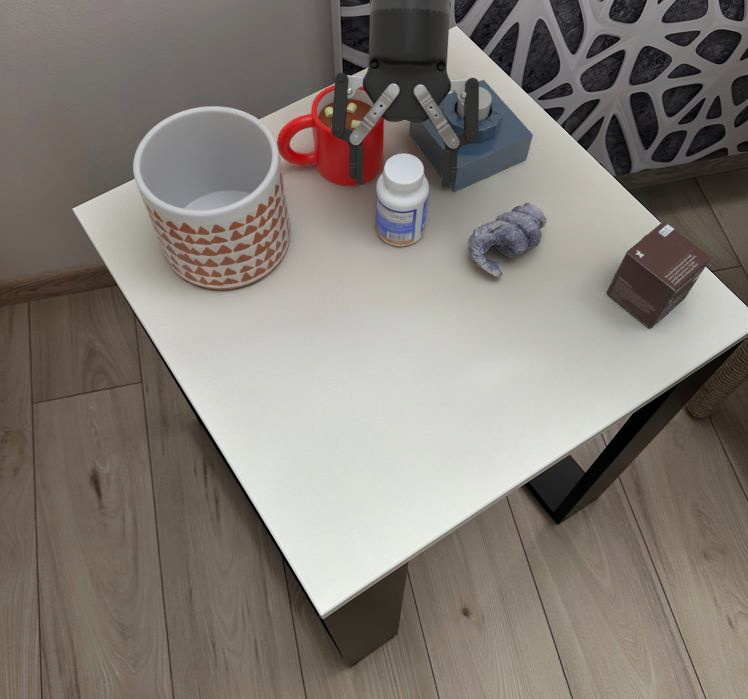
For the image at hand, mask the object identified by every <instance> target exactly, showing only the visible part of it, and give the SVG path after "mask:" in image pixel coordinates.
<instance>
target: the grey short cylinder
mask: <svg viewBox="0 0 748 699" xmlns="http://www.w3.org/2000/svg"><path fill="white" fill-rule="evenodd" d="M491 100H492V98H491V95H490V93H489V92H488V91H487V90H486V89H484V88H482V87H479V122H482V121H484V120H485V119H486V118H487V117H488V115H489V111H490V106H491ZM457 114H458V116H459V117H460V118H461V119H462V120H464V102H459V101H458V104H457Z"/></svg>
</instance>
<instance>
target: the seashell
mask: <svg viewBox="0 0 748 699" xmlns="http://www.w3.org/2000/svg"><path fill="white" fill-rule="evenodd" d="M547 221H548V218H547V216H546V215H545V214H544V211H543V209H541V208H539V207H537V206H536V205H533V204H531V203H530V202H526V203H524V204H523V205H517V206H515V207H514V208H512V209H511V210H510V211H506V212H503V213H502V214H500V215H497V216H496V218H495V219H494V221H490V222H487V223H485V224H483V225H481V226H478V227H477V228H475V229H473V230H472V231H473V232H472V233H471V234H470V236H469V238H468V254H469V258H470V260H472V261H473V262H474V263H475V264H476V265H477V267H478V268H481V269H482V270H484V271H485V272H487V273H488V274H490V275H491V276H493V277H495V278H496V279H498V278H500V277H501V276H503V273H502V271H501V268H500V265H499V264H500V263H499V262H500V261H492V260H491V259H489V258H488V256H487V255H488V250H489V249H490V247H492V246H494V247H495V248H496V249H497V251H498V252H500V253H501V254H502V255H504V256H505V257H508V258H512V259H515V258H517V257H520V256H521V255H522V254H523V253H524V252H525V250H533V249H535V248H536V247H538V245H539V244H540V243H541V241H542V231H541V230H542V229H543V228H545V227H546V224H547Z"/></svg>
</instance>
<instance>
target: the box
mask: <svg viewBox="0 0 748 699" xmlns="http://www.w3.org/2000/svg"><path fill="white" fill-rule="evenodd" d="M711 260H712V256H711V255H710V254H709V253H708V252H706V251H705V250H703V249H702V248H701V247H699V246H697V244H695V243H693V241H691V240H690V239H689V238H687V237H686V236H684V235H683V234H681V233H680V232H679V231H677V229H675V228H674V227H673V226H671V225H669V224H668V223H667V222H665V221H662V222H660V223H659V224H658V225H656V226H655V228H653V229H652V230H651V231H650V232H649V233H647V234H645V235H644V236H643V237H641V239H640V240H639V241H638V242H637V243H635V244H634V245H633V246H631V248H630V249H628V250H627V251H626V252H625V254H624V256H623V258H622V260H621V262H620V264H619V266H618V268H617V270H616V272H615V273H614V276H613V279H612V280H611V282H610V285H609V286H608V288H607V290H606V295H608V296H609V297H610V298H611V299H612V300H613V301H615V302H616V303H617V304H619V305H620V306H622V307H623V308H624V309H625V310H626V311H628V312H629V313H630V314H631V315H632V316H634V317H635V318H636V319H638V321H640V322H641V323H642V324H644V325H645V326H646V327H647V328H649V329H652V328H653V327H655V326H656V325H657V324H658V323H660V322H661V320H663V319H664V318H665V317H667V316H668V315H669V313H671V312H672V311H673V310H674V309H675V308H676V307H677V306H678V305H680V303H682V302H683V301H684V300H685V299H686V298H687V296H688V295H689V293H690V291H691V290H692V289H693V287H694V285H695V284H696V282H698V279H699V278H700V276H701V275H702V273H703V272H704V270H705V268H706V267H707V265H708V263H709V262H710V261H711Z"/></svg>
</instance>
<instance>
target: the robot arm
mask: <svg viewBox="0 0 748 699" xmlns="http://www.w3.org/2000/svg"><path fill="white" fill-rule="evenodd" d="M451 7H452V2H451V0H369V36H368V37H369V38H368V39H369V40H368V63H367V64H368V65H367V66H368V67H367V70H366V73H365V74H364V76H359V75H349V74H346V73H345V72H339V73H337V74H336V75H335V79H334V85H335V89H334V102H333V115H332V128H331V133H332V135H333V136H334V137H337V138H339V139H342V140H344V141H346V142H347V143H348V144H349V147H350V152H349V174H350V177H351V178H356V185H355V186H362V185H364V184H363V175H364V146H362V144H363V140H364V138H365V137H366V136H367V135H368V133H369V132H370V131H371V129H372V128H373V127H374V126H375V125H376V123H377V122H378V121H379V119H380V118H381V117H382V118H384V121H387V122H390V123H400V122H403V121H406V122H409V123H410V122H412V123H421V122H424V121H426V120H428V119H429V120H430V122H431V123H432V125H433V126H434V128H435V129H436V130H437V132H438V133H439V135H440V136H441V138H442V139H443V141H444V142H445V149H443V153H442V170H441V175H440V188H441V189H449V188H450V186H449V182H454V181H455V179H456V174H457V158H458V150H459V148H460V147H461V146H463V145H466V144H469V143H474V142H476V141H477V139H478V126H479V79H477V78H476V77H469V78H467V79H450V77H449V75H448V52H449V51H448V50H449V35H450V34H449V33H450V17H451V16H450V14H451ZM361 87H363V88H364V90H365V92H366V93H367V95H368V96H369V98H370V100H371V101H372V103H373V104H374V105H373V107H372V108H371V109H370V110H369V112H368V113H367V114H366V116H365V117H364V118H363V120H362V121H361V122H360V124H359V125H358V126H357V127H356V129H355V130H352V129H349V128H347V127H346V114H347V102H348V98H353V97H354V96H355V95H356V91H357V90H358V89H359V88H361ZM451 92H455V94H456V97H457V100H458V101H459V102H464V132H461V133H458V134H455V133H454V131H453V130H452V128H451V126H450V125H449V123H448V121H447V120H446V118H445V117H444V115H443V114H442V112H441V111H440V109H439V108H438V106H439V105H440V104H441V102H442V101H443V100H444V98H445V97H446V96H447V95H448V94H450V93H451ZM375 113H376V115H375ZM435 116H436V117H435Z"/></svg>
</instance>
